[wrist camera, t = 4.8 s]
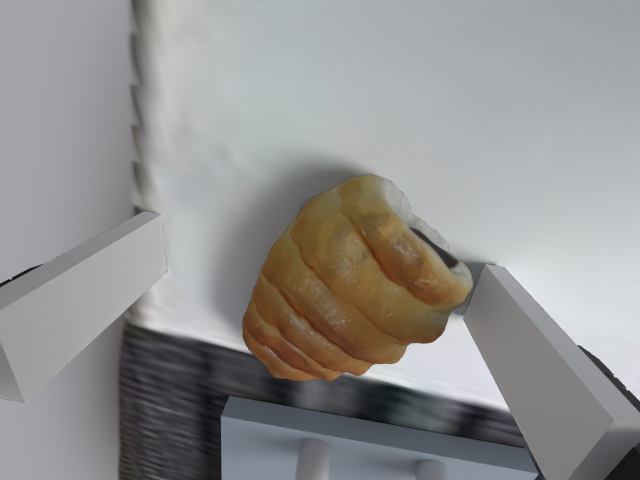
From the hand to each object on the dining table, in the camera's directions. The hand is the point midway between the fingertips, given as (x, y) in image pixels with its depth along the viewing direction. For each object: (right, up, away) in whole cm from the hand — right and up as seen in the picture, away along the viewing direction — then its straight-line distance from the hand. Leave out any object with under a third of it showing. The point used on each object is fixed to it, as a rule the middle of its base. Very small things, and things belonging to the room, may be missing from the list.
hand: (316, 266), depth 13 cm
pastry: (+2, 0, +1) cm, 2 cm away
